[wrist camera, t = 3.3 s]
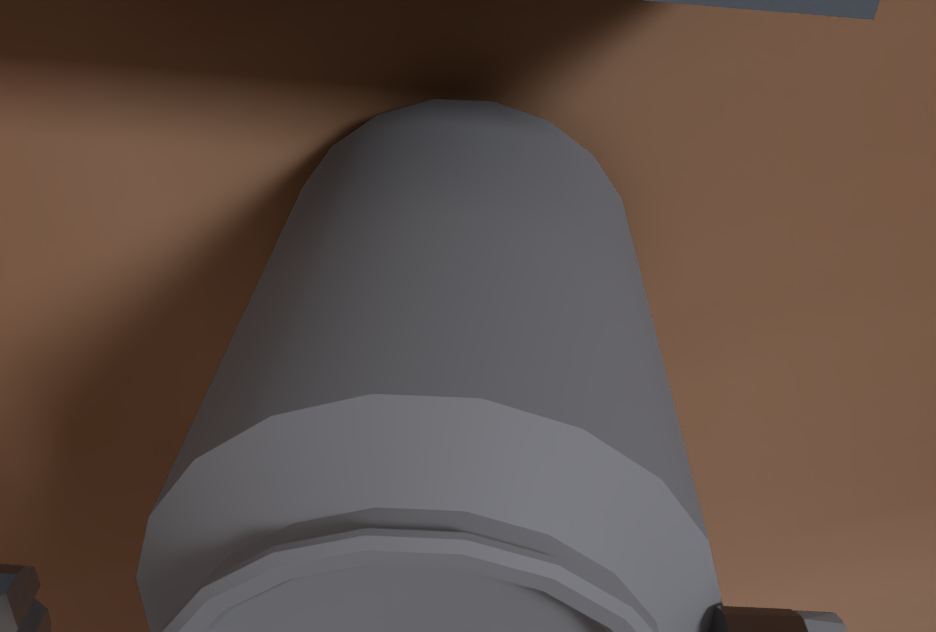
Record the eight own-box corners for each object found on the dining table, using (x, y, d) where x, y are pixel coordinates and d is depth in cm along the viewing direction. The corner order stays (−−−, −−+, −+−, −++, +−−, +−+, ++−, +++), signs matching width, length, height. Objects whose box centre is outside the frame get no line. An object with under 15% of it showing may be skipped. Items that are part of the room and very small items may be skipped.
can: (232, 170, 19) (-69, 634, 9) (549, 21, 17) (609, 403, 7) (394, 414, 23) (306, 943, 13) (673, 314, 21) (828, 844, 11)
